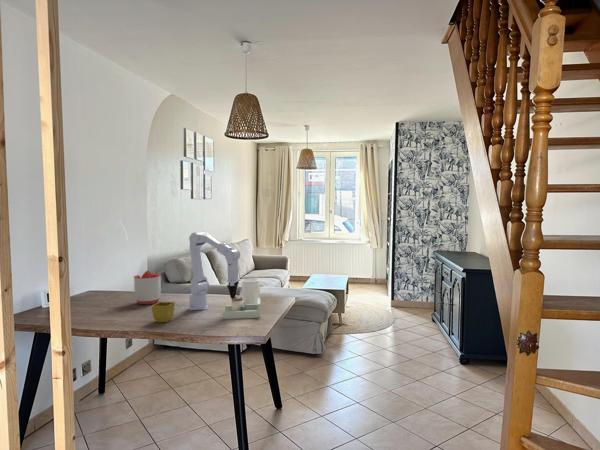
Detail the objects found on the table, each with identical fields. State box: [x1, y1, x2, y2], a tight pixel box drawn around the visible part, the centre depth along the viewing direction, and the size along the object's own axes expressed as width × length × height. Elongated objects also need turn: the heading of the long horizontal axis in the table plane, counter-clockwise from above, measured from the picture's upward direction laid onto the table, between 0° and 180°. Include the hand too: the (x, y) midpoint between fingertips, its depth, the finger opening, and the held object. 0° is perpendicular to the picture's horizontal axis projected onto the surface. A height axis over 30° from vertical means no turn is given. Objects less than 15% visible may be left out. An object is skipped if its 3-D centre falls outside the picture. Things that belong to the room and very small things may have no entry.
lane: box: [222, 297, 262, 320], centre depth 215 cm, size 20×15×7 cm
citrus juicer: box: [133, 270, 162, 305], centre depth 245 cm, size 16×17×20 cm
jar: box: [241, 278, 261, 304], centre depth 236 cm, size 11×10×15 cm
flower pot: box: [151, 301, 175, 323], centre depth 204 cm, size 9×9×9 cm
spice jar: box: [231, 296, 243, 311], centre depth 214 cm, size 6×6×9 cm
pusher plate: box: [242, 301, 246, 311], centre depth 215 cm, size 2×11×5 cm, turn 5°
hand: (233, 296), depth 217 cm, fingers open, 7 cm apart
